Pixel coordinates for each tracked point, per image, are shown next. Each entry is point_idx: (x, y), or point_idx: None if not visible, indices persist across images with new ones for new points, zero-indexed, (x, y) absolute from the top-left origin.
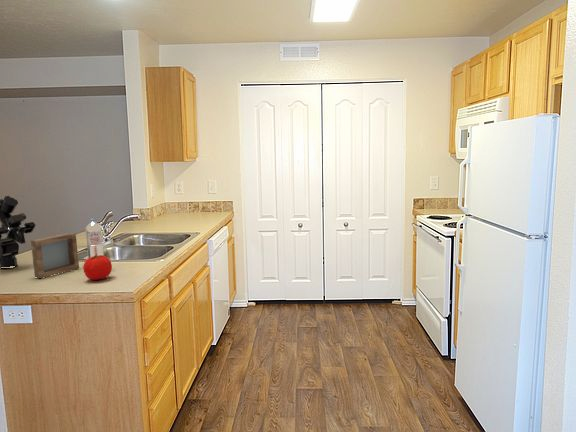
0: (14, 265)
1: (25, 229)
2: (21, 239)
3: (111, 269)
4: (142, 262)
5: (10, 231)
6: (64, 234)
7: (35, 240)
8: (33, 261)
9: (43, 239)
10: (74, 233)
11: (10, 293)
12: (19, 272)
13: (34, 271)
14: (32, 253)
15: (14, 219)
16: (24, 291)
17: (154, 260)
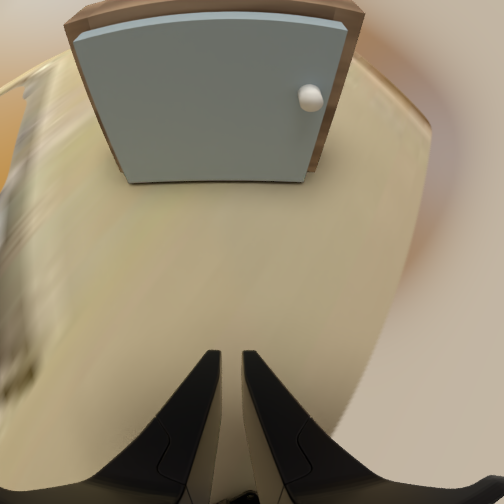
0: (229, 502)
1: (2, 498)
2: (250, 378)
3: None
4: (57, 77)
5: (494, 477)
6: (116, 6)
7: (343, 1)
8: (333, 112)
9: None
10: (87, 6)
11: (421, 119)
12: (286, 363)
13: (321, 149)
14: (344, 77)
15: None
16: (392, 102)
17: (41, 75)
